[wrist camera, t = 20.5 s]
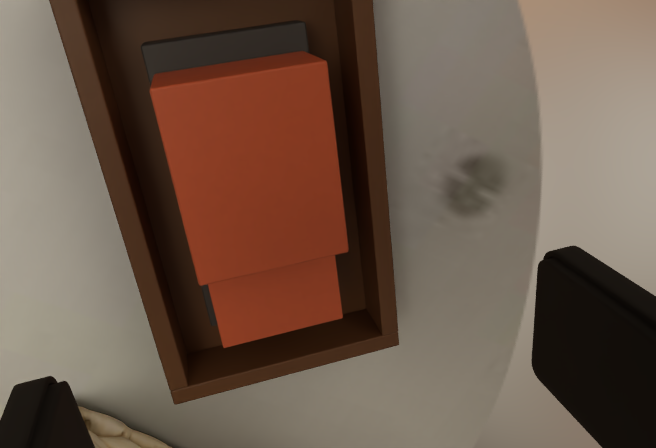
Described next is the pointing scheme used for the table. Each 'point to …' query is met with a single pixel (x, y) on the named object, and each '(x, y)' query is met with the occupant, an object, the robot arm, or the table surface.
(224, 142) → the shoe
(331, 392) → the table surface
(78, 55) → the tray
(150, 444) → the basket
